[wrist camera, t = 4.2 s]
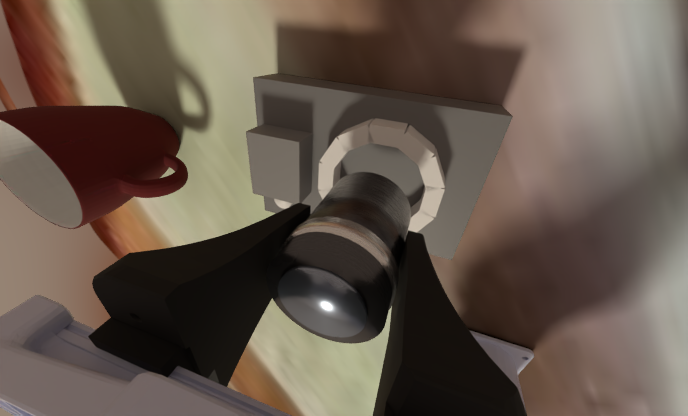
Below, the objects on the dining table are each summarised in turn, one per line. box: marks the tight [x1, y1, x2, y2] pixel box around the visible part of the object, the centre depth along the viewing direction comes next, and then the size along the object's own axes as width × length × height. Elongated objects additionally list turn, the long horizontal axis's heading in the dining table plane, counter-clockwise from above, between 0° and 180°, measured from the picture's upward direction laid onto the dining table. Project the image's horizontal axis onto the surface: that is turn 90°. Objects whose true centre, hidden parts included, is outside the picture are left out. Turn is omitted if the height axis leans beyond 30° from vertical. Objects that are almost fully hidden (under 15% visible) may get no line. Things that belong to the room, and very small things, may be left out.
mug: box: [0, 106, 188, 229], centre depth 21 cm, size 10×8×10 cm
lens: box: [266, 172, 411, 343], centre depth 11 cm, size 5×5×6 cm
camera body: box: [246, 73, 513, 260], centre depth 18 cm, size 10×15×5 cm, turn 85°
